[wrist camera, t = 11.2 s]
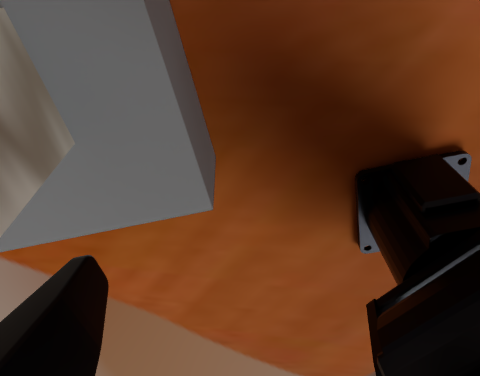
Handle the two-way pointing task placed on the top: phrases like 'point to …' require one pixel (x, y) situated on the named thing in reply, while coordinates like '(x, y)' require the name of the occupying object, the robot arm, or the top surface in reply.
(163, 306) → the top surface
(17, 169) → the cream block
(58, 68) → the plinth
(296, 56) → the top surface
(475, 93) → the top surface
